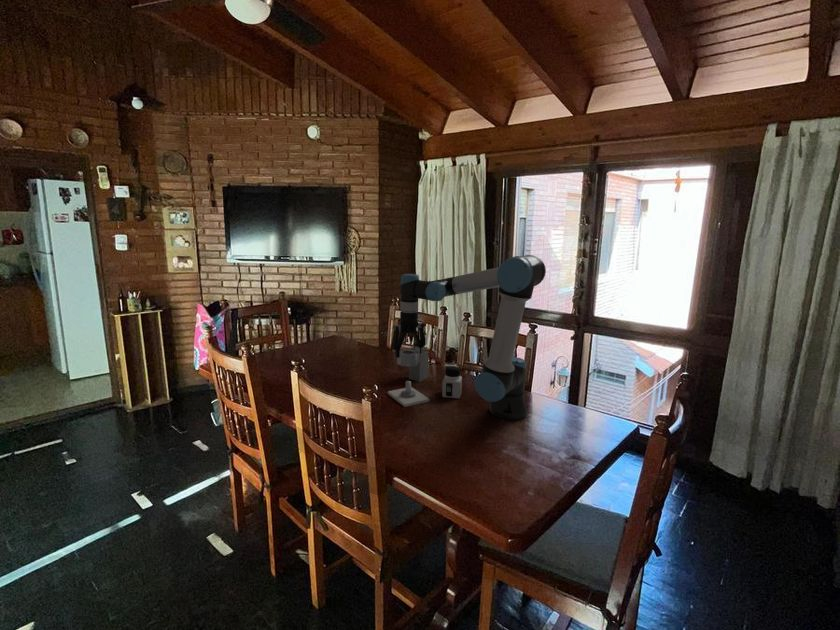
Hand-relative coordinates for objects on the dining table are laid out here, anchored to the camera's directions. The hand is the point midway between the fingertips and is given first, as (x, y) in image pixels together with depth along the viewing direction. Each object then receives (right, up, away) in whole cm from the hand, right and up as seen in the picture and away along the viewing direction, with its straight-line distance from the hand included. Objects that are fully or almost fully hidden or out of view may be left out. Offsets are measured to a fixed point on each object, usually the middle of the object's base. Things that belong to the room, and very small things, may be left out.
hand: (408, 362), depth 189 cm
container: (+19, -15, +8) cm, 26 cm away
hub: (0, 0, 0) cm, 0 cm away
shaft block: (0, -16, +3) cm, 16 cm away
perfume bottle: (+4, -11, +27) cm, 30 cm away
